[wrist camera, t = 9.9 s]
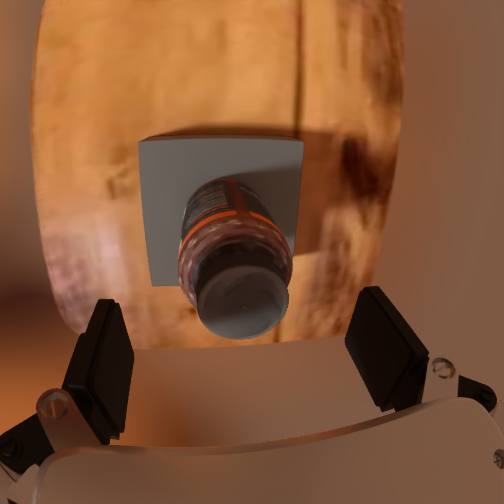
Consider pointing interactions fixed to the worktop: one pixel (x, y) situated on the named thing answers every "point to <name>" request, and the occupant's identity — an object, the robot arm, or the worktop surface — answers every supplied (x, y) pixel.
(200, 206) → the supplement bottle
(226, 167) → the pedestal
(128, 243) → the worktop surface
